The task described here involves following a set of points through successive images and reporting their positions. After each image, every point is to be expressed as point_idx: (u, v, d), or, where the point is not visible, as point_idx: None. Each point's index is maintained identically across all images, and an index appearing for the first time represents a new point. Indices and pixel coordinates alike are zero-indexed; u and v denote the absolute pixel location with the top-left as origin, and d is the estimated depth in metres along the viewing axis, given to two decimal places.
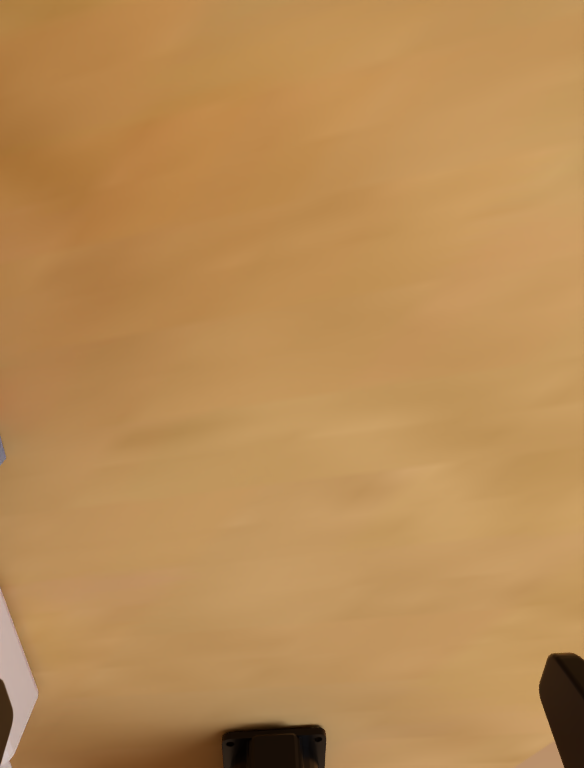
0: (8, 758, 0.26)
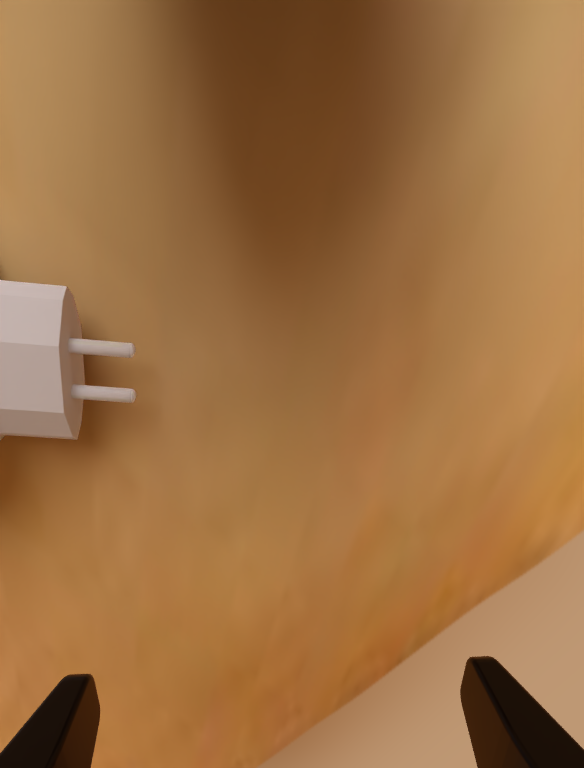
0: None
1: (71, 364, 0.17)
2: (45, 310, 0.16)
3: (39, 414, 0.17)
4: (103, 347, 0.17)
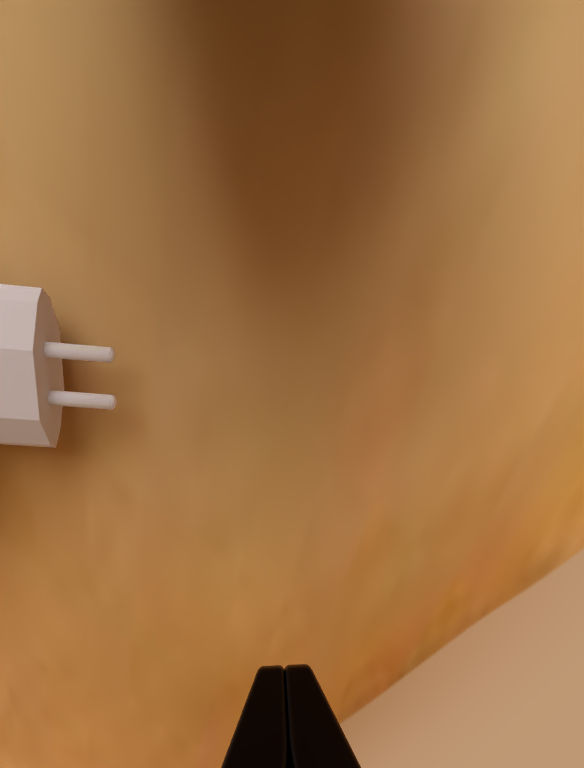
0: None
1: (48, 369, 0.17)
2: (19, 313, 0.15)
3: (14, 421, 0.16)
4: (81, 351, 0.16)
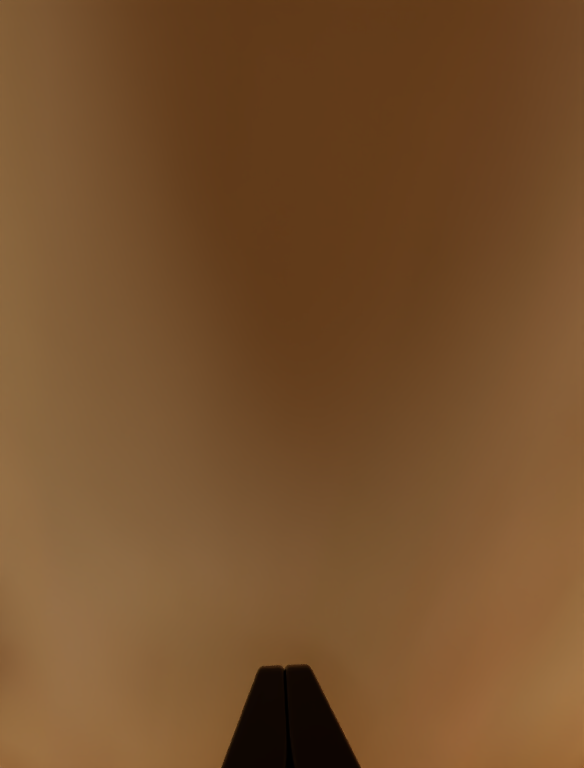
0: None
1: None
2: None
3: None
4: None
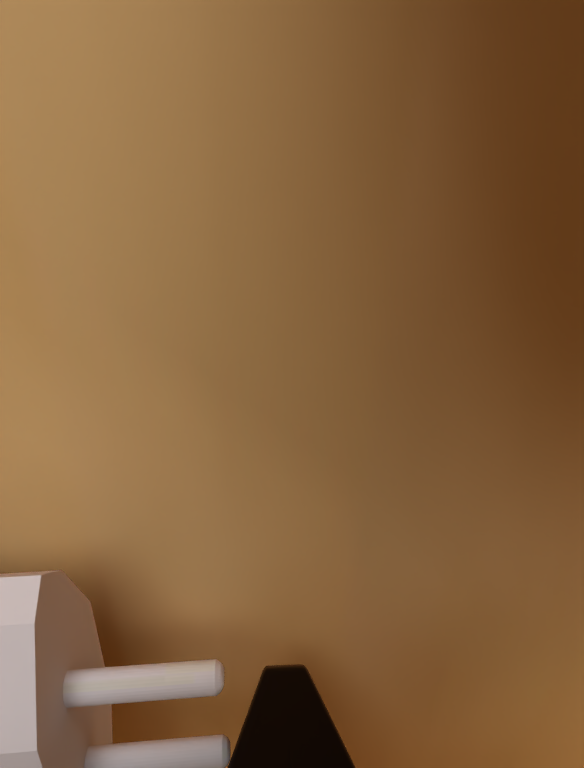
0: None
1: (77, 719, 0.07)
2: None
3: None
4: (149, 688, 0.07)
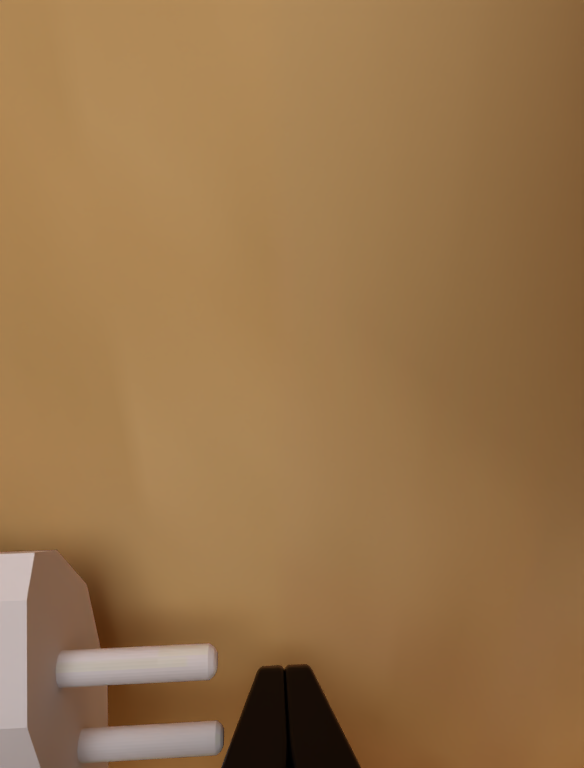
0: None
1: (71, 700, 0.07)
2: None
3: None
4: (142, 670, 0.07)
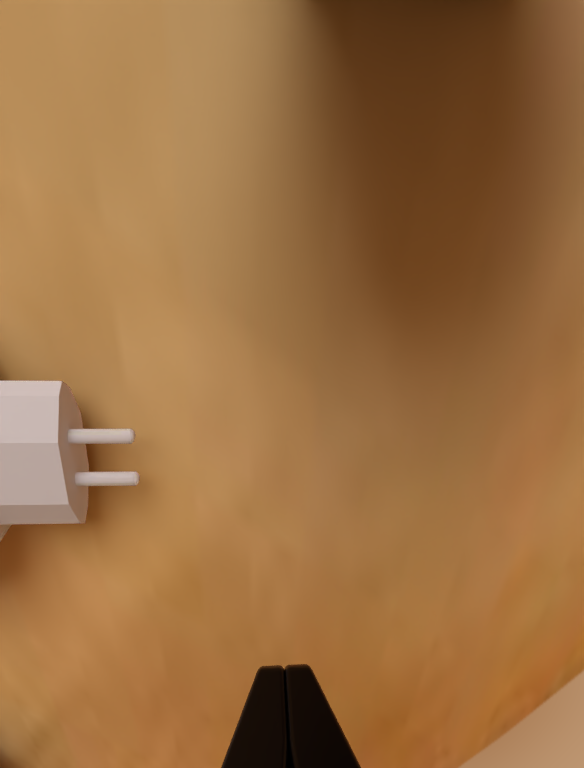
0: None
1: (73, 453, 0.17)
2: (42, 407, 0.16)
3: (45, 506, 0.17)
4: (103, 436, 0.17)
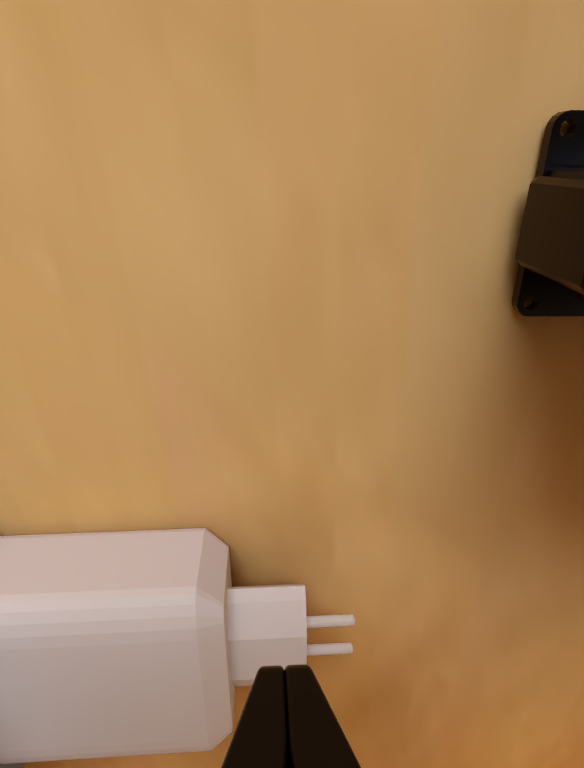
0: (191, 596, 0.18)
1: None
2: (294, 609, 0.21)
3: None
4: (332, 622, 0.21)
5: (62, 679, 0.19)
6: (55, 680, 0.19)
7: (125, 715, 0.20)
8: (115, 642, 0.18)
